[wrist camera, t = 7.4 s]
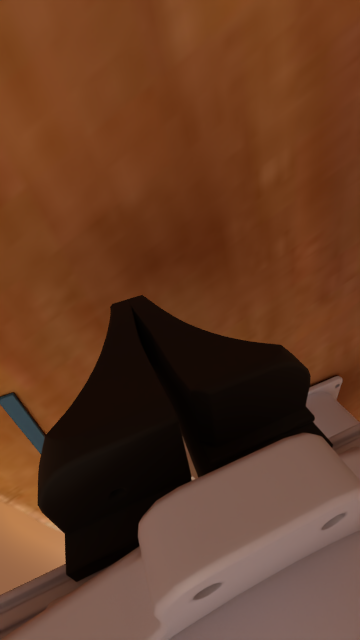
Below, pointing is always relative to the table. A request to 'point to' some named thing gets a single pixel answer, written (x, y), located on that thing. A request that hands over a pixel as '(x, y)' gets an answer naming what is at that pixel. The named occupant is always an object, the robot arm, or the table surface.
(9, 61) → the table surface
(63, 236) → the table surface
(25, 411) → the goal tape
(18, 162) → the table surface
